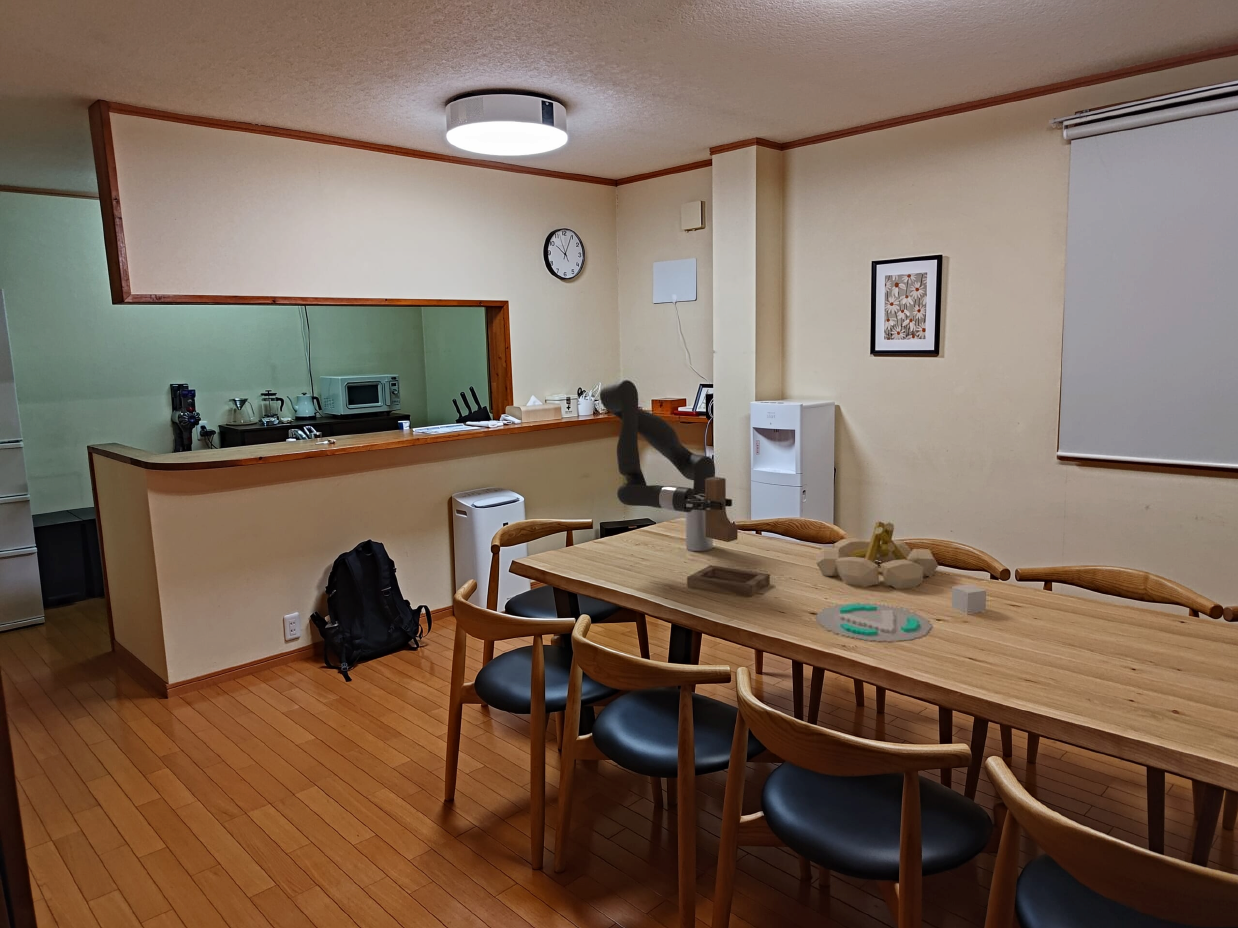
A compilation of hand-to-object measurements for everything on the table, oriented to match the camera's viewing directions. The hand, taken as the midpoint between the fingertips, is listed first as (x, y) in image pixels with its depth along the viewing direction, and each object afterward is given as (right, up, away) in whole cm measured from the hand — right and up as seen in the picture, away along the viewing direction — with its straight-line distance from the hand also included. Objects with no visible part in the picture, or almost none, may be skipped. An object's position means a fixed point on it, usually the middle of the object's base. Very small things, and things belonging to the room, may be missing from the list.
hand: (727, 504), depth 241 cm
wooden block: (-1, -10, +2) cm, 11 cm away
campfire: (+48, -22, +13) cm, 55 cm away
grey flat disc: (+34, -30, -29) cm, 54 cm away
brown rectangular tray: (+1, -24, +4) cm, 25 cm away
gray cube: (+62, -27, -22) cm, 71 cm away
